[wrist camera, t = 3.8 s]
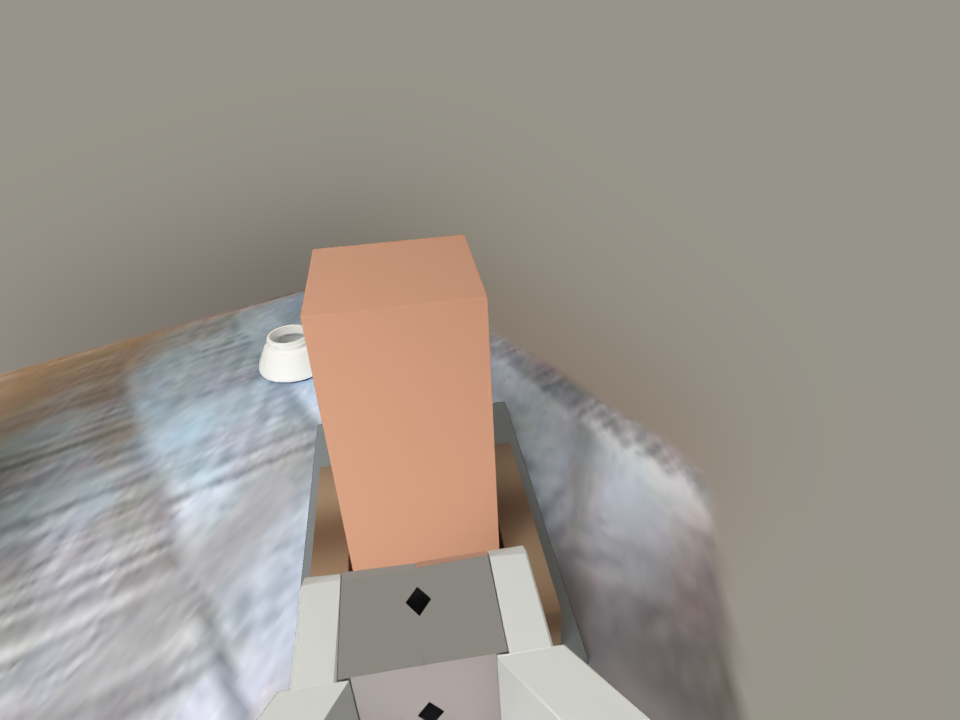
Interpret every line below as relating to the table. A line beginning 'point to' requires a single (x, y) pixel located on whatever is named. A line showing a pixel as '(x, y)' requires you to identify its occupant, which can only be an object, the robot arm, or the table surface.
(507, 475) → the chute rails
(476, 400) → the block
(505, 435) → the chute mat
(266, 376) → the white jar
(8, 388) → the table surface
